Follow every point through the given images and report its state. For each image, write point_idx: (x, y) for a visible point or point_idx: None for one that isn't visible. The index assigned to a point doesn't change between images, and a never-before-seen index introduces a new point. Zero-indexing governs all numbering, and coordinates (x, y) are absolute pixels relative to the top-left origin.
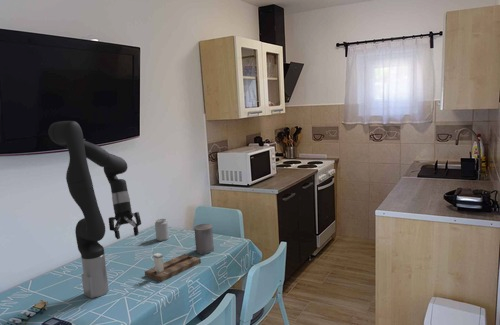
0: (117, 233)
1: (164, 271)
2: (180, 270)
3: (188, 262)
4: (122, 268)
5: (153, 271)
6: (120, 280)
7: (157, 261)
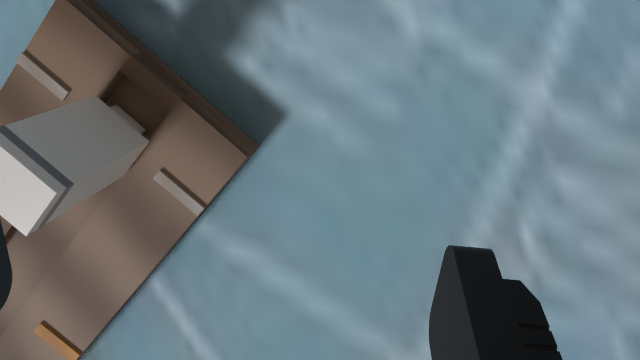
0: (472, 356)
1: None
2: None
3: None
4: None
5: (164, 141)
6: (468, 91)
7: (45, 129)
